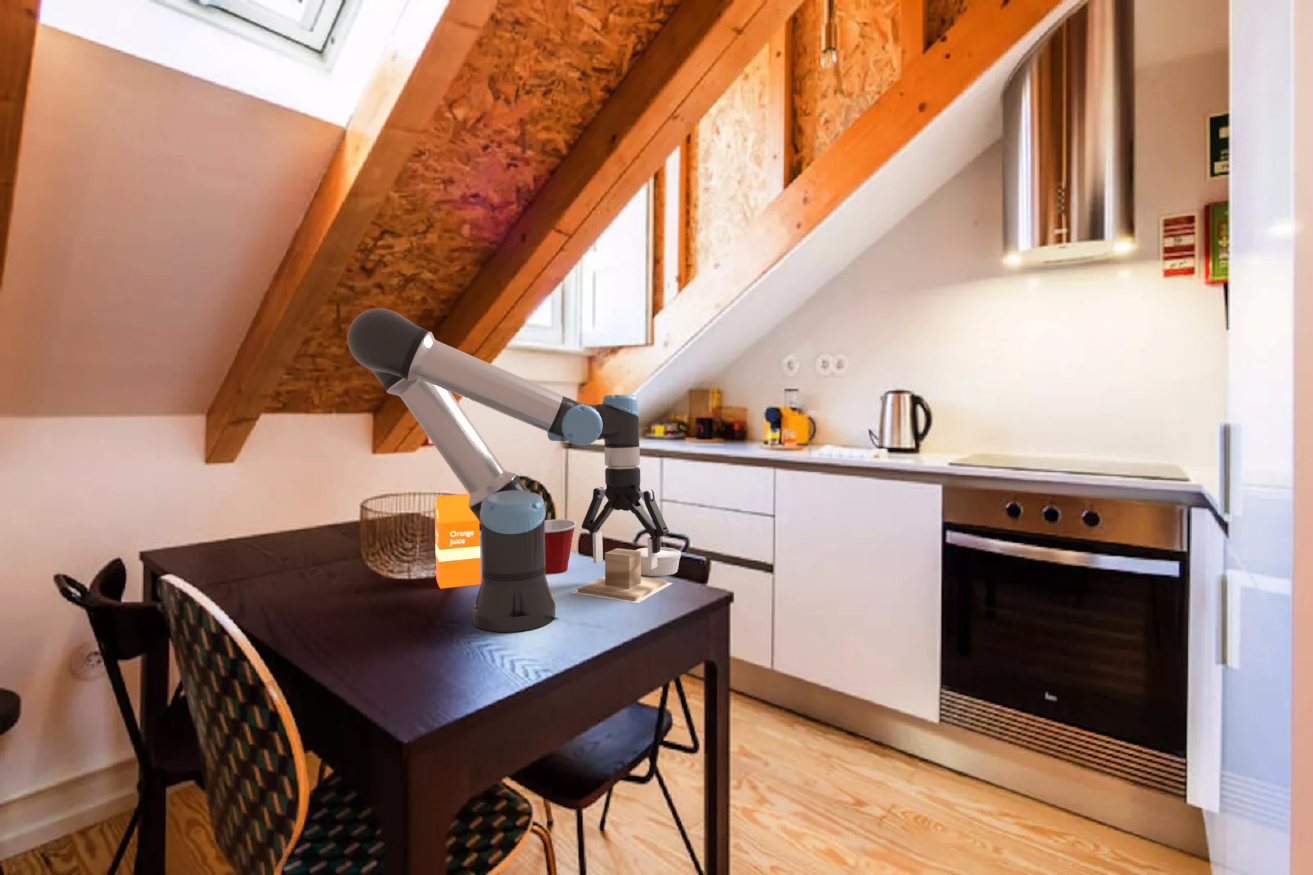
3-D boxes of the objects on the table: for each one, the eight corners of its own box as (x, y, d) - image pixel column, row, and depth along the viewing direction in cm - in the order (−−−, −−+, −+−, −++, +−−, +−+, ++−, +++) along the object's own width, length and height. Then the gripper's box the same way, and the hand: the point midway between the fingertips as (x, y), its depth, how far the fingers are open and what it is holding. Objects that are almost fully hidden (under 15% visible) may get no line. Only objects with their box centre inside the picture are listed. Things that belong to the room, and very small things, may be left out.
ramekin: (685, 569, 159) (685, 547, 158) (675, 581, 148) (675, 558, 148) (640, 566, 161) (640, 545, 161) (628, 578, 151) (627, 555, 150)
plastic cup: (521, 575, 153) (520, 525, 152) (550, 565, 162) (549, 517, 162) (558, 581, 148) (557, 529, 147) (586, 570, 157) (585, 521, 156)
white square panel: (637, 606, 130) (637, 603, 130) (571, 595, 137) (571, 592, 137) (672, 585, 144) (672, 583, 144) (610, 577, 151) (610, 574, 151)
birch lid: (635, 601, 131) (635, 562, 131) (577, 591, 137) (577, 555, 137) (666, 583, 143) (666, 548, 143) (612, 576, 150) (612, 542, 149)
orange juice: (480, 584, 146) (479, 495, 145) (439, 588, 142) (437, 498, 141) (475, 575, 153) (473, 491, 152) (435, 579, 149) (433, 493, 148)
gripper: (682, 466, 137) (684, 566, 138) (583, 463, 148) (586, 555, 149) (666, 470, 130) (668, 575, 131) (564, 466, 141) (567, 562, 143)
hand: (624, 564), depth 140 cm, fingers open, 13 cm apart
